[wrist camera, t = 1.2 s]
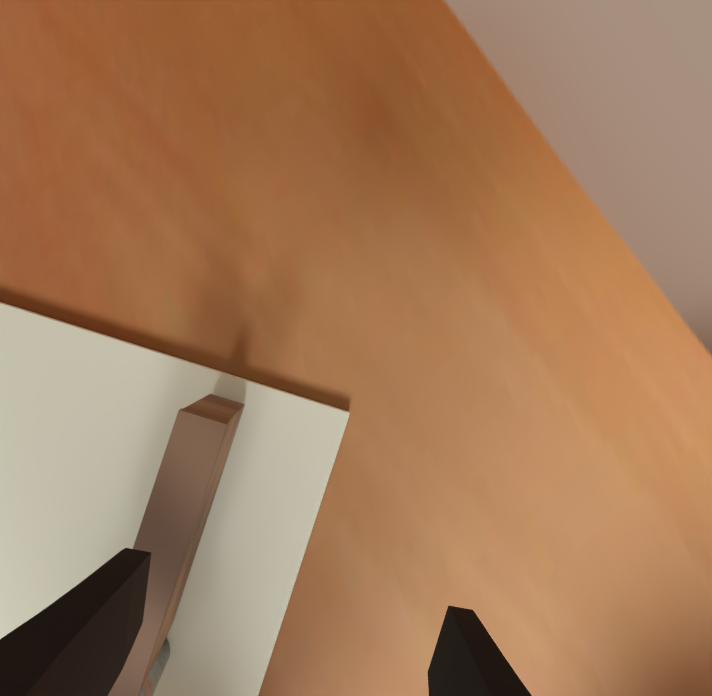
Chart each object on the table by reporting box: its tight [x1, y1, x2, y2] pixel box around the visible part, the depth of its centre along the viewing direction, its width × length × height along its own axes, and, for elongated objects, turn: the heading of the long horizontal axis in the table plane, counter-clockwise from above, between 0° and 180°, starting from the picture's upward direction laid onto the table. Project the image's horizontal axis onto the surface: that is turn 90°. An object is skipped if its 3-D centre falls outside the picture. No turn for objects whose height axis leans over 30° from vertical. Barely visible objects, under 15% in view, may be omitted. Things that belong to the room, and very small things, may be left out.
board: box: [0, 302, 350, 696], centre depth 22 cm, size 18×21×1 cm
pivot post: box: [139, 638, 170, 696], centre depth 20 cm, size 3×3×6 cm
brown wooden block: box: [108, 394, 245, 696], centre depth 20 cm, size 10×2×5 cm, turn 162°
